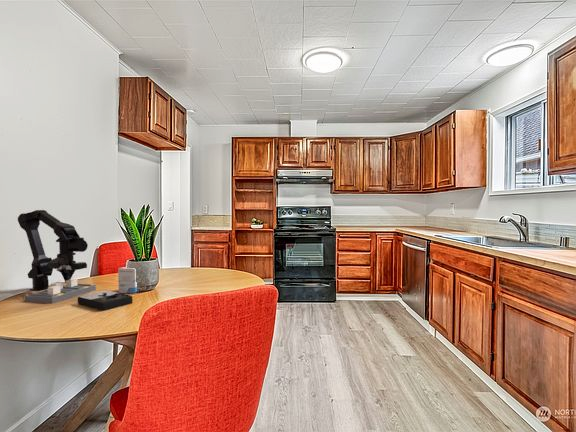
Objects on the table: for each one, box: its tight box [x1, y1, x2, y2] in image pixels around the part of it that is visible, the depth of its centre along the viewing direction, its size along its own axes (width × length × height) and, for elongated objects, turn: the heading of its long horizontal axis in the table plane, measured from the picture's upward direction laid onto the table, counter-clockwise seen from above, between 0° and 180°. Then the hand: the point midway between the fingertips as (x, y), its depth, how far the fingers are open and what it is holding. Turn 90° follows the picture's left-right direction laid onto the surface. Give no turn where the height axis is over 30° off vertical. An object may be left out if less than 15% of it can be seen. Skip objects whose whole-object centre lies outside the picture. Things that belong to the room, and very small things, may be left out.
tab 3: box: [65, 278, 78, 287], centre depth 168 cm, size 3×4×3 cm
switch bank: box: [23, 283, 97, 304], centre depth 161 cm, size 15×24×3 cm, turn 167°
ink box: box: [117, 266, 138, 294], centre depth 167 cm, size 9×5×12 cm, turn 84°
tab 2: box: [47, 286, 61, 295], centre depth 153 cm, size 3×4×3 cm
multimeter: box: [77, 290, 133, 312], centre depth 147 cm, size 13×19×5 cm
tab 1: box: [50, 281, 64, 289], centre depth 161 cm, size 3×4×3 cm
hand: (67, 283), depth 168 cm, fingers closed
